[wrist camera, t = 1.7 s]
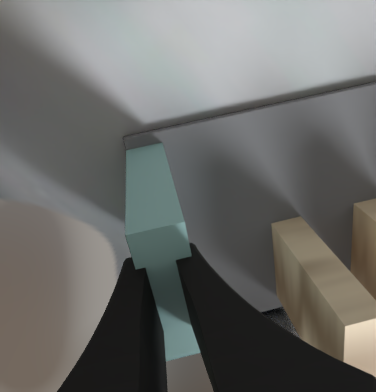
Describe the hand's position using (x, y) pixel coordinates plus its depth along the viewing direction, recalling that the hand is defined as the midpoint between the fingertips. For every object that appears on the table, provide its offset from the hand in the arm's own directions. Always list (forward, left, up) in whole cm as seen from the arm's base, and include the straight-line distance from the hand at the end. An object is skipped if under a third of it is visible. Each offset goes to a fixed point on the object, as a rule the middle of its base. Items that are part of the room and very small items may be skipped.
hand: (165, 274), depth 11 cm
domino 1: (0, 0, -6) cm, 6 cm away
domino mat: (-3, -10, -6) cm, 13 cm away
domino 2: (-6, -6, -6) cm, 10 cm away
